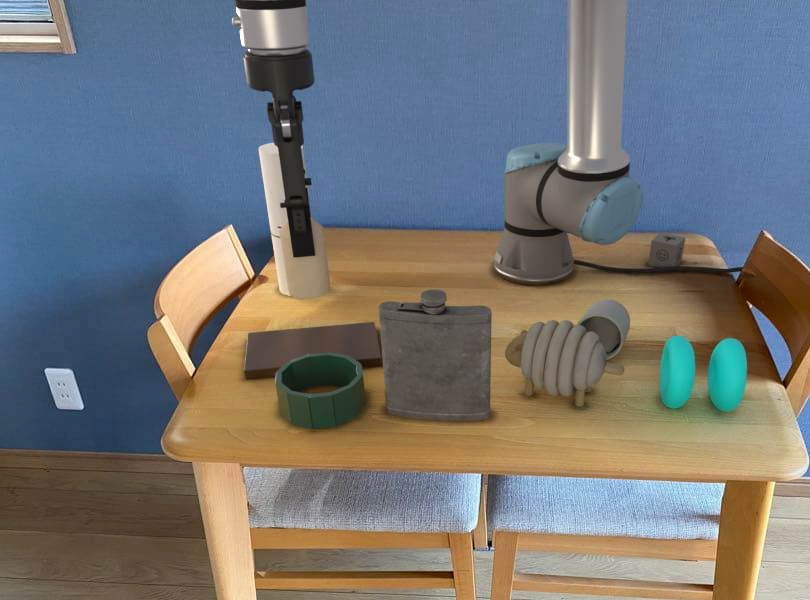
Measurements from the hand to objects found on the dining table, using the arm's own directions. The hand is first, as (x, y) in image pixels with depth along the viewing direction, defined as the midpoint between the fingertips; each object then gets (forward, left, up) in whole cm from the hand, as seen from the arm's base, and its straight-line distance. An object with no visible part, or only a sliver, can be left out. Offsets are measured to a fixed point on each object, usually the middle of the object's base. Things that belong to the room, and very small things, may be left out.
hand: (303, 246), depth 97 cm
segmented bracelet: (0, +5, -21) cm, 22 cm away
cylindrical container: (+3, -35, -22) cm, 42 cm away
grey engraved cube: (-67, -33, -22) cm, 78 cm away
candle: (0, 0, -7) cm, 7 cm away
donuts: (-51, +15, -22) cm, 57 cm away
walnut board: (+1, -10, -21) cm, 24 cm away
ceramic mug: (-42, -3, -22) cm, 47 cm away
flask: (-15, +10, -22) cm, 28 cm away
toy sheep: (-33, +9, -22) cm, 40 cm away
